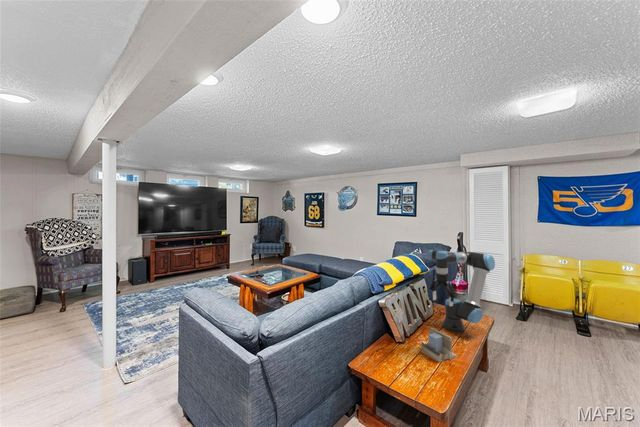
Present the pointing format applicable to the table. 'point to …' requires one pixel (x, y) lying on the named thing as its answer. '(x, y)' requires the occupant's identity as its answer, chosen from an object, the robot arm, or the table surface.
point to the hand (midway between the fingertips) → (442, 302)
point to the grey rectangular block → (435, 341)
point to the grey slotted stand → (442, 354)
